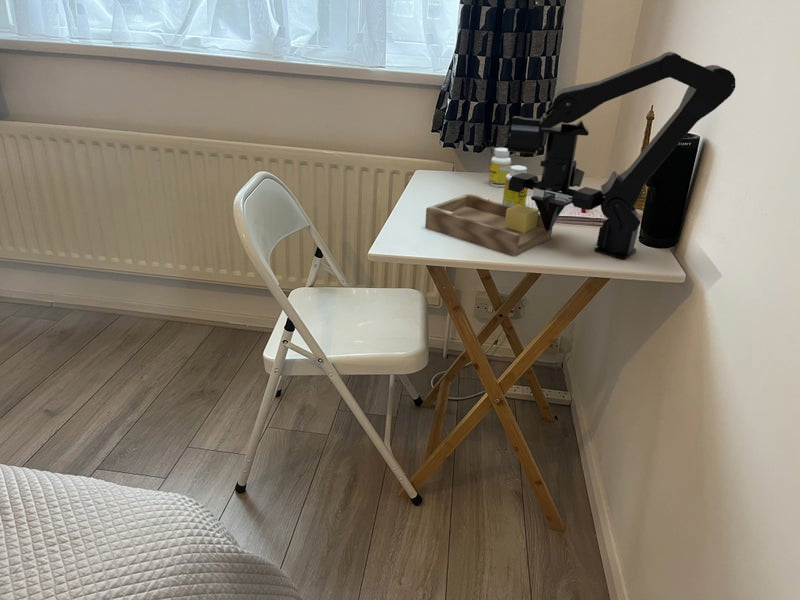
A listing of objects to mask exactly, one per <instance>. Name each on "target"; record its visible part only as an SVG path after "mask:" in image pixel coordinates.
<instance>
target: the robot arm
mask: <svg viewBox="0 0 800 600" xmlns="http://www.w3.org/2000/svg"><path fill="white" fill-rule="evenodd" d="M668 78H669V79H673V80H675V81H678V82H679V83H682V84H684V85H686V86H688V87H687V89H686V91H685V92H684V95H683V98H682V100H681V102H680V104H679V105H678V108H677V109H676V110H675V111H674V112H673V113H672V115H671V116H670V117H669V118H668V120H667V121H666V122H665V124H664V125H663V126H662V127H661V128H660V129H659V131H658V132H657V133H656V134H655V136H653V138H652V139H651V141H650V142H649V143H648V144H647V146H646V147H645V148H644V149H643V150H642V151H641V153H640V154H639V155H638V156H637V157H636V158H635V160H634V161H633V162H632V164H630V166H629V167H628V168H627V169H626V170H625V171H623V172H621V173H620V174H618V173H617V171H615V170H613V171H612V172H611V174H610V176H609V178H608V179H607V181H606V182H604V183H603V184H602V185H600V189H601V190H600V189H595V188H592V187H586V186H585V187H582V188H580V189H573V188H574V187H581V184H582V182H583V179H584V177H585V171H584V170H581V169H579V168H577V160H575V157H576V150H577V143H578V138H579V136H584V137H585V136H586V137H587V136H589V133H590V132H589V129H588V127H586V126H585V124H584V122H583V120H579V119H581V118H582V117H584V116H586V115H588V114H589V113H591V112H592V111H594V109H597V108H598V107H599V106H601V105H602V104H604V103H606V102H609V101H611V100H613V99H616V98H618V97H621V96H624V95H626V94H629V93H631V92H635V91H636V90H639V89H642V88H645V87H647V86H649V85H652V84H654V83H657V82H660V81H662V80H665V79H668ZM736 85H737V84H736V78H735V75H734V73H733V72H732V71H731V70H729V69H726V68H725V67H722V66H720V65H718V64H717V65H716V64H710V65H706V66H704V65H700V64H698V63H695V62H693V61H691V60H688V59H687V58H684V57H682V56H681V55H679V54H677V52H673V51H667V52H664V53H663V54H660V55H659V56H657V57H655V58H652V59H651V60H647V61H646V62H643V63H640V64H638V65H636V66H635V65H634V66H633V67H630V68H628V69H625V70H623V71H620V72H618V73H615V74H612V75H611V76H608V77H606V78H604V79H601V80H598V81H594V82H588V83H582V84H581V83H580V84H577V85H572V86H568V87H565V88H564V87H563V88H561V89H560V90H558V91H557V92H556V94H554V96H553V98H552V103H551V106H550V107H549V108H548V109H547V110H546V111H545V112H543V114H542V115H541V117H540V118H532V117H523V116H518V115H514V116H513V117H512V121H511V128H510V133H509V135H508V141H507V142H508V143H507V149H508V151H510V152H509V153H511V152H512V153H522V154H535V155H536V154H537V152H538V151H539V152H540V150H543V144H544V137H545V133H547V138H546V145H545V153H544V157H543V158H544V159H542V160H540V167H542V171H541V180H539V177H538V175H535V174H531V173H528V172H527V173H520V174H517V175H515V176H512V177H511V178H510V179H509V181H508V190H511V191H515V192H521V191H522V190H524V188H528V190H533V195H532V196H531V197H530V199H531V200H532V201H534V203H535V205H536V209H538V210H539V214H540V215H541V218H542V222H543V225H544V228H545V230H546V231H550V230H551V229H552V230H553V228H552V227H554V226H555V223H556V222H557V220H558V218H559V217H560V215H561V213H562V211H563V210H564V208H566V206H569V205H571V204H572V206H574V207H575V208H579V209H583V210H586V211H588V210H589V211H592V210H593V209H595V208H597V207H599V206H600V209H601V213H602V215H603V216H604V217H606V218H607V219H605V220H603V222H602V226H600V227H599V229H598V234H597V235H598V236H597V241H596V246H597V247H595V248H594V251H595V252H596V253H600V254H604V255H608V256H611V257H614V258H618V259H621V260H626V259H627V258H629V257H631V256H632V255H633V254H635V253H636V252H637V248H635V245H636V240H637V236H638V232H639V228H640V224H641V220H640V216H639V213H638V211H637V208H636V207H635V205H636V204H637V201H638V200H639V197H640V195H641V193H642V191H643V189H644V186H645V184H646V183H647V182H648V181H649V179H650V178H651V177H652V176H653V174H655V172H656V171H657V170H658V169H659V168H660V166H661V165H662V164H663V163H664V161H665V160H666V159H667V158H668V157H669V156H670V154H671V153H672V152H673V151H674V150H675V148H676V147H678V145H679V144H680V143H681V142H682V140H683V139H684V138H686V136H687V134H688V133H690V132H691V131H690V130H692V128H693V127H694V126H695V125H696V124H697V123H698V122H699V121H700V120H701V119H703V118H704V117H706V116H707V115H710V113H712V112H714V111H715V110H716V109H718V107H719V106H720V105H722V104H723V103H724V102H725V101H726V100H727V99H729V98H730V96H731V95H732V94H733V93H734V91H735V90H736V89H735V88H736ZM577 120H579V122H577V123H576V124H573V122H575V121H577ZM559 124H561V125H560V126H559V127H558V125H559ZM556 126H557V127H556Z"/></svg>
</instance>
